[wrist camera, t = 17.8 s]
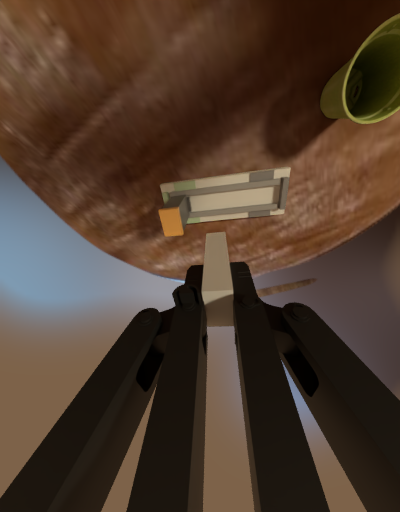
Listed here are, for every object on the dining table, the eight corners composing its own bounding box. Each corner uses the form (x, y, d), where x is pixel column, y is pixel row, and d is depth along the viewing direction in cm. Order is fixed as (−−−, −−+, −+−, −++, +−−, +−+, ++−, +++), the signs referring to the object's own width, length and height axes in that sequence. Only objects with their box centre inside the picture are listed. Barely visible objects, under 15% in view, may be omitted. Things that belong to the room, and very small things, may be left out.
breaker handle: (175, 215, 38) (162, 236, 28) (170, 195, 35) (155, 211, 26) (192, 213, 37) (185, 234, 28) (189, 192, 35) (180, 208, 25)
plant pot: (385, 43, 24) (460, -5, 17) (362, 124, 29) (412, 115, 22) (315, 60, 25) (356, 24, 18) (304, 135, 30) (333, 130, 23)
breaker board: (171, 222, 41) (167, 227, 38) (162, 183, 36) (157, 186, 33) (280, 211, 38) (286, 216, 35) (286, 166, 33) (293, 168, 30)
